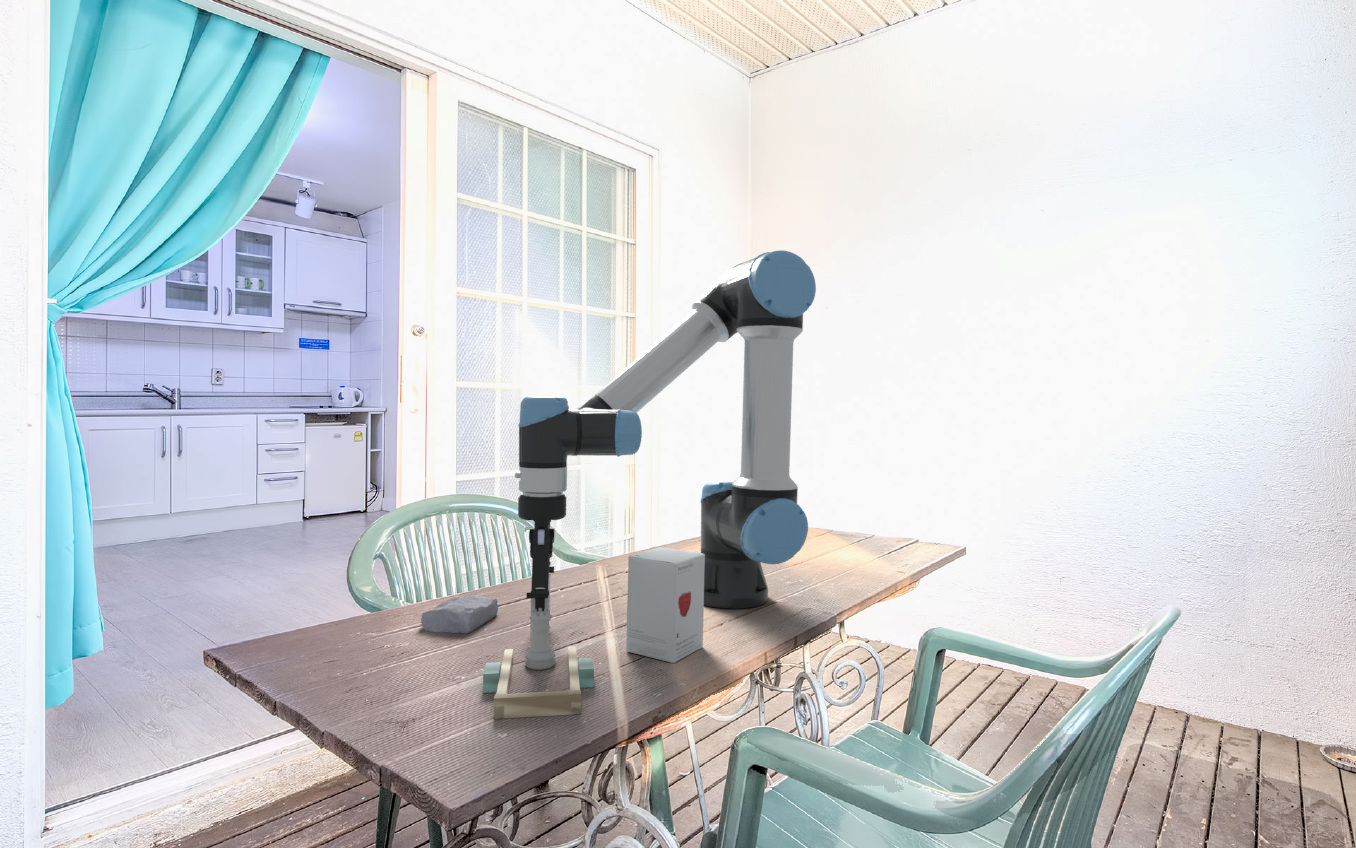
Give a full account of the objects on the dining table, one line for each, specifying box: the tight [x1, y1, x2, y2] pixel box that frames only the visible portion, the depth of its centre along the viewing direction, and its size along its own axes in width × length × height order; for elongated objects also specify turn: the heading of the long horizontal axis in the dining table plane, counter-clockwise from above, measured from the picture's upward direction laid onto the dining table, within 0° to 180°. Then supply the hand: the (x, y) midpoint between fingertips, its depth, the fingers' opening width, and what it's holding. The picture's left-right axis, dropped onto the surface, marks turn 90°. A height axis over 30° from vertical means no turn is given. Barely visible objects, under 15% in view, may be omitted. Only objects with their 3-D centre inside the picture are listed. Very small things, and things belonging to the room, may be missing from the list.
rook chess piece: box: [524, 608, 557, 671], centre depth 103 cm, size 4×4×8 cm
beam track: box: [482, 645, 595, 720], centre depth 96 cm, size 20×14×2 cm
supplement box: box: [625, 546, 705, 664], centre depth 110 cm, size 9×9×15 cm
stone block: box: [420, 595, 499, 635], centre depth 122 cm, size 12×5×10 cm
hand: (540, 626), depth 113 cm, fingers open, 13 cm apart
